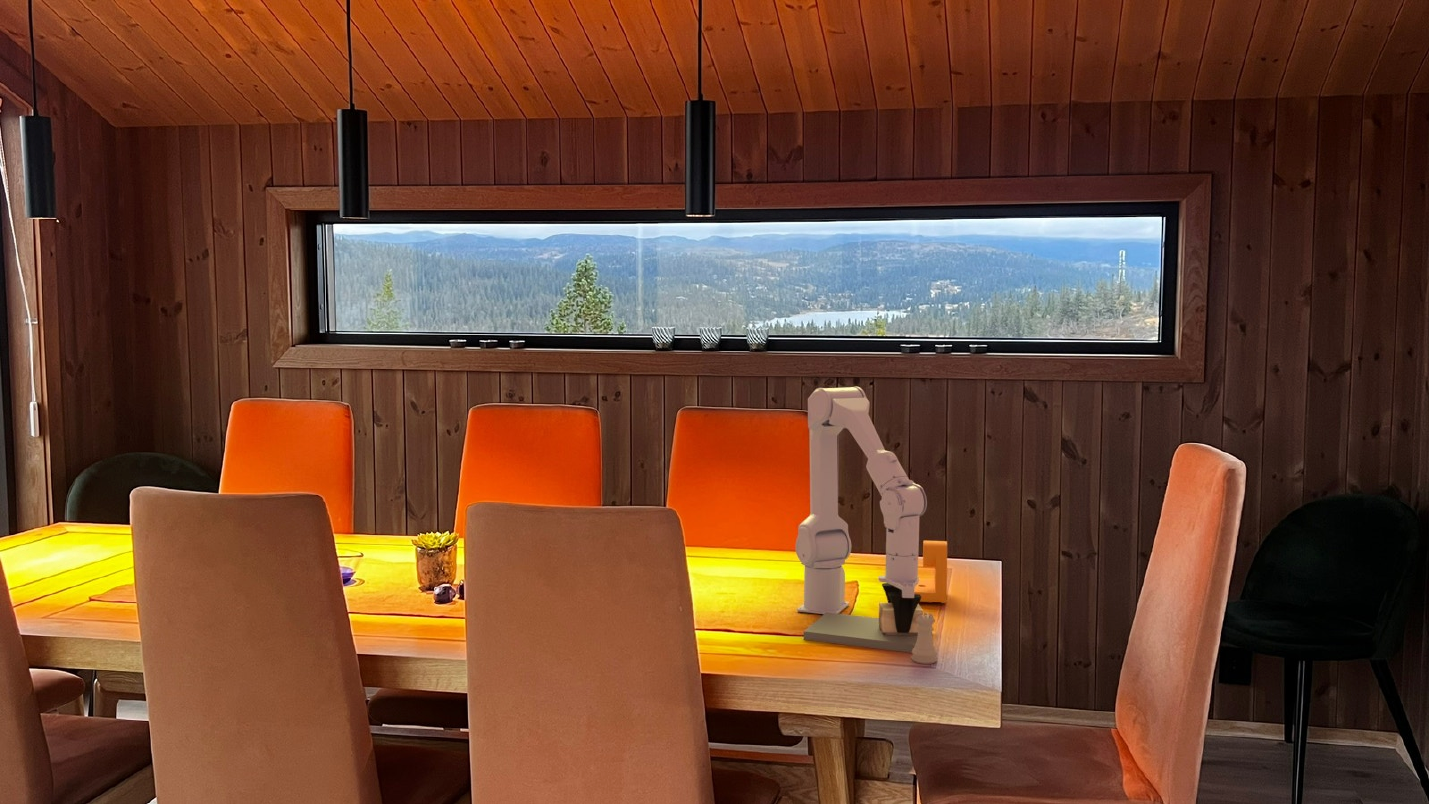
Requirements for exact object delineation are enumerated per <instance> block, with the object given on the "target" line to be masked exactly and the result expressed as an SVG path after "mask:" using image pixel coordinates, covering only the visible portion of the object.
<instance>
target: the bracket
mask: <svg viewBox="0 0 1429 804" xmlns="http://www.w3.org/2000/svg"><path fill="white" fill-rule="evenodd" d="M922 543H923V546H922V549H923V550H922V551H923V552H922V568H930V569H931V568H933V569H934V578H933V579H919V583H918V584H917V585H916V587H915V588H914V594H920V595H921V600H920V602H919V603H932V602H941V603H940V604H947V596H948V594H947V593H948V591H947V590H948V589H947V587H948V586H947V585H948V584H947V583H948V582H947V581H948V541H946V540H945V541H944V540H923V542H922Z"/></svg>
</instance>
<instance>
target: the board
mask: <svg viewBox="0 0 1429 804" xmlns="http://www.w3.org/2000/svg"><path fill="white" fill-rule="evenodd" d="M917 636H918V635H884V634H883V633H882V631H881V629H880V628H879V617H872V616H862V615H853V614H852V615H851V614H844V613H838V614H837V613H828V612H826V613H825V614H822V616H820V617H819V618H818V619H817V620H816V621H814V622H813V623H812V624H811V625H810V626H808V627H807V628H806V629H805V630H803V640H805V641H812V642H821V643H828V644H829V643H830V644H839V645H843V646H854V647H860V648H861V647H862V648H868V649H869V648H870V649H876V650H885V651H893V652H895V651H896V652H901V653H902V652H903V653H909V654H910V653H911V654H912V649H913V648H914V647H915V645H916V642H917Z"/></svg>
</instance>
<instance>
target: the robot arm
mask: <svg viewBox="0 0 1429 804" xmlns="http://www.w3.org/2000/svg"><path fill="white" fill-rule="evenodd" d="M869 412H870V401H869V400H868V398H867V395H866V393H865V391H864V389H862V387H859V386H857V385H856V386H851V387H850V386H849V387H832V388H831V387H829V388H828V387H827V388H823V387H818V388H816V389H814V391H813V392H812V393H811V394H810V396H808V398H807V428H808V430H809V487H810V488H809V495H810V496H809V497H810V498H809V500H810V502H809V505H810V506H809V507H810V508H809V509H810V514H809V516H808V517H806V518H804V520H803V521H802V522H801V523H800V524H799V525H798V526H797V527H798V528H797V529H798V531H797V533H798V534H797V537H796V541H795V553H796V556H797V558H798V559H799V562H800V564H801V565H803V566H804V583H803V584H804V585H803V586H804V587H803V604H802V605H800V606H799V607H798V608H797V609H796V611H797V612H801V613H810V614H819V615H824V614H825V613H826V612H828V613H837V614H841V612H843V610H845V608H847V607H848V606H849V605H850V602H849V601H845V598H846V597H845V593H846V592H845V591H846V589H845V588H846V573H845V568H843V565H844V566H845V565H846V560H847V559H848V558H849V557H850V554H851V552H852V541H851V537H850V535H849V524H848V523H847V521H845V520H844V519H843V518H841V517H840V516H839V508H838V507H839V502H838V501H839V493H838V491H839V486H838V485H839V484H838V482H839V481H838V477H839V475H838V435H839V434H840V433H841V432H842V431H843V429H847V430H848V431H849V432H850V434H851V435H852V437H853V438H854V440H855V442H856V443H857V444H858V446H859V448H860V449H861V450H862V451H863V453H864V455H865V457H866V458H867V462H866V466H865V468H866V470H867V472H868V474H869V476H870V478H871V481H872V482H873V483H874V485H875V487H876V488H877V490H878V493H879V495H880V496H881V500H879V507H880V508H879V509H880V511H881V513H882V516H883V525H884V528H886V533H885V534H886V537H885V538H886V539H885V540H886V541H885V575H879V576H878V581H879V582H881V583H882V584H881V586H882V588H883V591H884V593H885V597H886V599H887V603H892V606H893V610H894V617H895V625H896V630H897V632H898V633H909V631H910V628H911V624H912V619H913V615H914V612H915V609H916V607H917V605H918V604H920V603H921V602H920V600H921V595H920V594H914V588H915V587H916V585H917V584H918V583H919V580H920V578H919V577H918V576H919V551H920V550H919V548H920V547H919V546H920V545H919V541H920V517H921V516H923V515H924V514H925V512H926V510H927V506H928V501H927V499H928V498H927V495H926V492H925V491H924V488H923V487H922V486H921V485H920V484H918V483H917V484H916V483H915V482H914V480H911V479H909V477H908V475H907V473H906V472H905V470H904V469H903V466H902V465H901V463H900V461H899V458H898V456H897V455H896V454H895V453H894V452H893V451H889V450H885V447H884V445H883V443H882V441H881V439H880V435H879V434H878V432H877V430H876V428H875V425H874V424H873V421H872V419H871V417H870V415H869Z"/></svg>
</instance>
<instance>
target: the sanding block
mask: <svg viewBox="0 0 1429 804" xmlns="http://www.w3.org/2000/svg"><path fill="white" fill-rule="evenodd" d="M919 613H922V615H924V610H923V608H922V607H921V605H920V603H918V605H917V607H916V609H915V612H914V615H913V619H912V624H911V628H910V631H909V633H898V632H897V630H896V625H895V617H894V610H893V606H892V603H888V602H879V603H878V618H879V628H880V629H881V631H882V633H883V634H884V635H918V630H917V627H918V623H917V621H916V618H917V617H918V614H919Z"/></svg>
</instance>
